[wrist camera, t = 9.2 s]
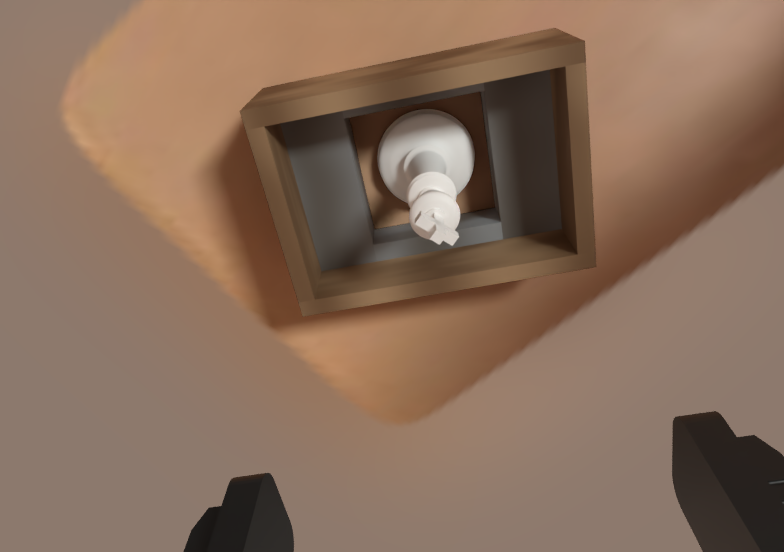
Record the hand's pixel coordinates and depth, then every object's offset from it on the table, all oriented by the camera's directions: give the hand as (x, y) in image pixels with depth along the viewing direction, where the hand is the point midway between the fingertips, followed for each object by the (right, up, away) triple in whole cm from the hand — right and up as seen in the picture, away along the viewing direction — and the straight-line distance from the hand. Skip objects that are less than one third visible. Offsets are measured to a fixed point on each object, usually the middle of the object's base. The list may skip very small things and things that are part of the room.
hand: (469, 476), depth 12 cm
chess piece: (0, +10, +19) cm, 22 cm away
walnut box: (0, +10, +19) cm, 21 cm away
